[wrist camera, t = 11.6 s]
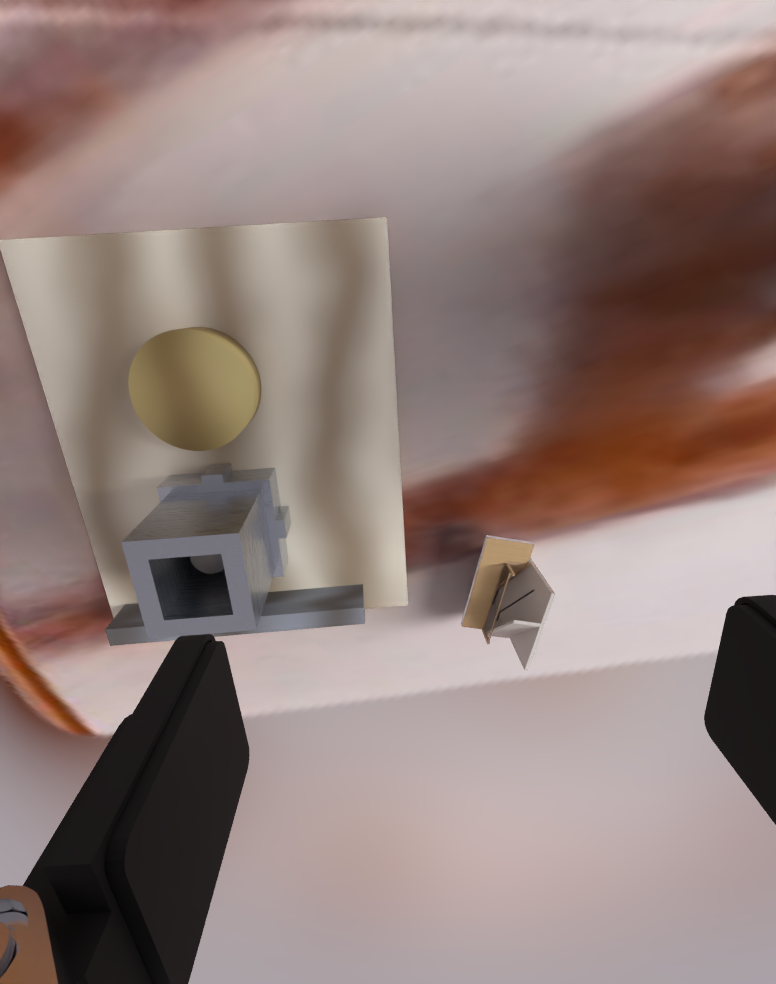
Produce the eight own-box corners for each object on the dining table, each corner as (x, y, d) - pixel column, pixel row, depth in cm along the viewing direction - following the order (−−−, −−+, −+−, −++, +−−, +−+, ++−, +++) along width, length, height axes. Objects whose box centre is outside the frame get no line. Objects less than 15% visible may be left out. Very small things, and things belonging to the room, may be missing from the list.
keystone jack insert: (282, 459, 31) (257, 511, 23) (297, 565, 33) (279, 644, 26) (159, 468, 30) (93, 524, 23) (184, 574, 33) (132, 656, 25)
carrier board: (385, 221, 28) (393, 198, 22) (406, 593, 36) (416, 652, 30) (16, 243, 27) (-83, 226, 21) (126, 617, 36) (79, 682, 29)
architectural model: (451, 598, 37) (473, 666, 30) (474, 513, 35) (504, 566, 28) (495, 604, 37) (526, 673, 30) (521, 521, 35) (561, 575, 28)
